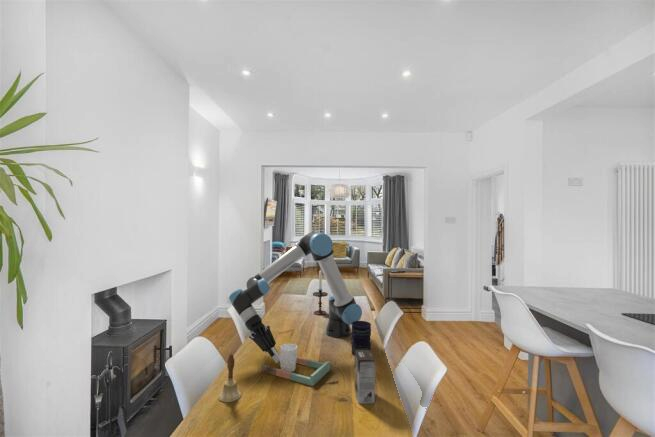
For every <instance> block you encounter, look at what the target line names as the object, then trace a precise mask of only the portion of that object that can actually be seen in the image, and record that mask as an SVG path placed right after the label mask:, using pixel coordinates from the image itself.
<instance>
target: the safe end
mask: <svg viewBox="0 0 655 437" xmlns="http://www.w3.org/2000/svg"><path fill="white" fill-rule="evenodd" d="M307 359H308V358H307ZM306 367H309V368H314V369H316V370H315V371H314V372H313V373H311V374H310V377H309V376H306V375H303V374H299V373H295V372H291V373H290V379H289V380H290V381H293V382H297V383H301V384H304V385H308V386H311V387H314V386H315V384H317V383H318V382H319V381H320V380H321V379H322V378H323V377H324V376H325V375H327V373H329V371H330V370H331V361H330V360H327V361H325V362H321V361H317V360H312V359H308V360H307V366H306Z"/></svg>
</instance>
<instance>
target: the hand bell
mask: <svg viewBox="0 0 655 437" xmlns="http://www.w3.org/2000/svg"><path fill="white" fill-rule="evenodd" d="M226 366H227V370H228V375H227V376H228V378H227V380H226V381H224V384H223V389H222V391H221V393H219V395H218V400H219V401H220V402H222V403H232V402H233V403H234V402H236V401H238V400H239V399H240V398H241V396H242V392H241V391H240V390H239V388H238V386H237V380H236V379H233V378H234V376H233V375H234V373H233V372H234V368H235V357H234V354H233V353H229V355H228V359H227V364H226Z"/></svg>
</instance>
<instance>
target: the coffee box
mask: <svg viewBox="0 0 655 437" xmlns="http://www.w3.org/2000/svg"><path fill="white" fill-rule="evenodd" d="M354 393H355V396H356V400H357V403H358V404H360V405H361V404H362V405H363V404H375V401H376V400H375V397H376V396H375V393H376V359H375V357H374V355H373V353H372V351H370V350H355V356H354Z"/></svg>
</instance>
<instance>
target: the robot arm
mask: <svg viewBox="0 0 655 437" xmlns="http://www.w3.org/2000/svg"><path fill="white" fill-rule="evenodd" d="M333 244H334V243H333V240H332V238H331V237H330V236H329V235H328V234H326V233H324V232H316V231H311V232H308V233H307V234H306V235H303V237H301V238H300V239H298V240H297V241H296V242H295V243H294V246H293V247H291V248H290V249H288V250H287V251H286V252H285V253H284V254H282V255H281V256H280V257H278V258H277V259H276V260H274V261H273V262H272V263H270V264H269V265H268V266H267V267H265V268H263V269H262V270H261V271H260V272H259V273H257V274H256V275H255V276H251V277H249V278H248V279H247V281H246V289H245V290H242V289H241V288H239V289H236V290H234V291H233V292H232V293H230V295H229V297H228V299H229V301H230V304H231V305H232V307H233V308H234V310H235V311H236V313H237V314H238V316H239V317H240V319H241V321H242V323H244V325H245V327H246V328H247V330H248V331H250V335H249V336H248V338H249V339H250V340H252V342H254V343H255V345H257V346H258V348H259V349H260V350H261V351H262V352H264V353H268V354H269V356H270V358H272V359H273V361H274V362H275V364H277V363H280V353H278V350H277V348H276V347H275V346H276V345H277V342H276V339H275V337H274V335H273V334H272V330H271V327H270V325H267V326H266V325H265V324H264V323H263V321H262V318H261V316H260V315H259V314H258V312H257V310H256V309H255V307H254V306H253V305H252V304H254V303H256V301H258V300H259V299H261V298H263V297H264V296H265V295H267V294H268V293H269V292H270V291H271V286H270V284H269V283H270V282H272V281H273V280H274V279H276V278H277V277H278V276H280V275H281V274H282V273H283V272H285V271H287V270H288V269H289V268H291V266H293V265H294V264H296V263H297V262H298V261H299V260H300V259H301V258H306V257H307V256H309V255H311V256H312V260H313V261H314V262H317V263H318V264H319V268H320V267H321V271H322V274H323V276H324V279H325V280H326V283H327V285H328V288H329V290H330V291H331V295H329V298H328V322H327V324H326V327H325V334H326V335H327V336H329V337H332V338H345V337H349V336H350V335H352V322H354V321H361V318H362V316H363V309H362V307H361V306H360V304H358V303H357V302H356V299H355V297H354V295H353V294H351V293H349V290H348V288H347V285H346V282H345V280H344V279H343V276H342V274H341V272H340V270H339V268H338V265H337V263H336V261H335V258H334V254H335V251H334V249H333V247H334V245H333Z"/></svg>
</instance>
